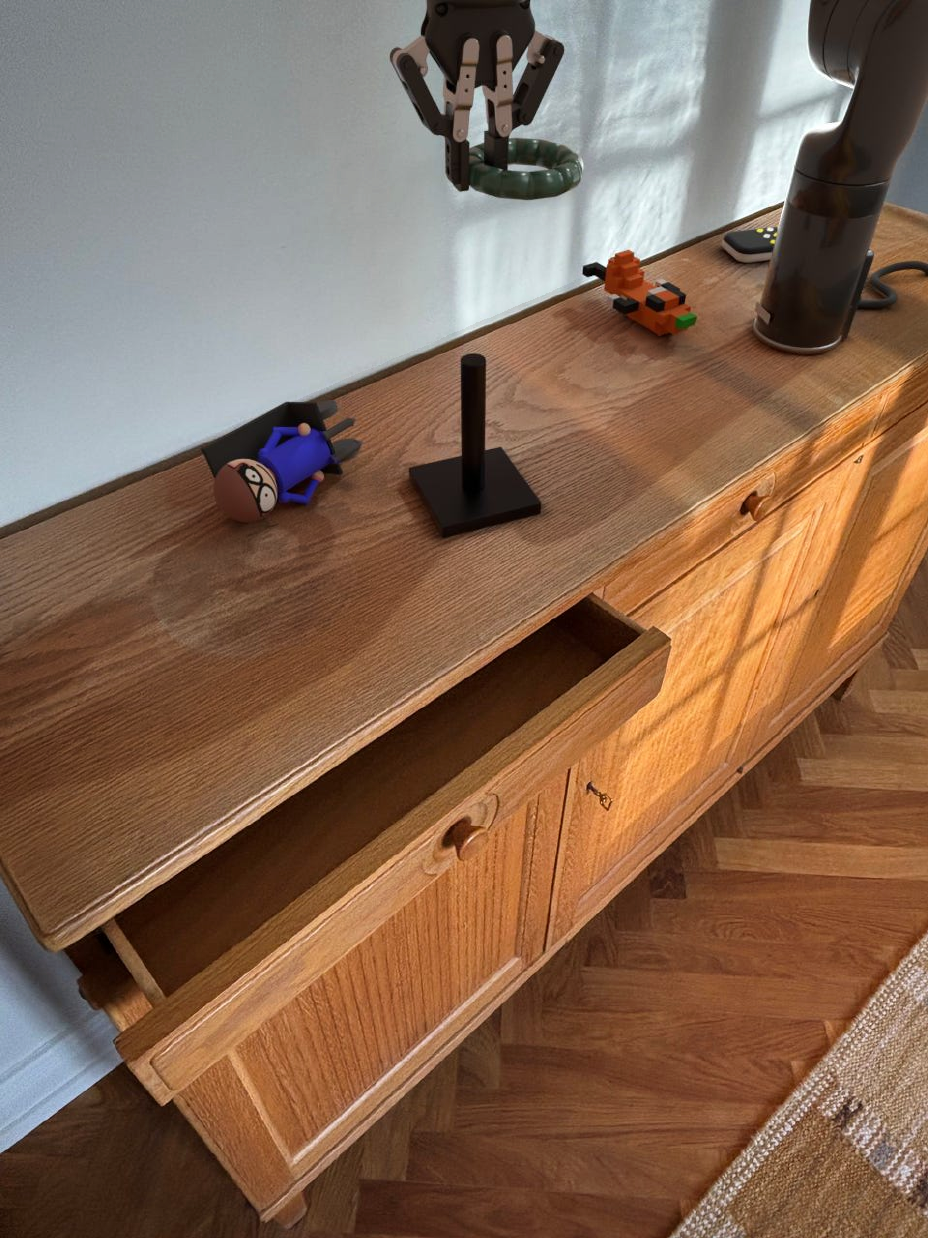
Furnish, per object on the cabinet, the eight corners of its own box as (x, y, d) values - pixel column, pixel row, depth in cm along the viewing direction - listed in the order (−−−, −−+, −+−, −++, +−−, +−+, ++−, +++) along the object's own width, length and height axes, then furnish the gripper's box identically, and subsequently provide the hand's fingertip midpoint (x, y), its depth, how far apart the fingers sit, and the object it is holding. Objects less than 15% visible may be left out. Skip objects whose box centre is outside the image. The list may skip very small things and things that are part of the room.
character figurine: (378, 474, 79) (248, 556, 72) (324, 439, 82) (194, 514, 75) (375, 401, 74) (233, 483, 66) (317, 367, 77) (175, 441, 69)
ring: (550, 154, 76) (552, 129, 75) (602, 194, 70) (605, 167, 68) (443, 167, 74) (443, 141, 72) (486, 209, 67) (487, 182, 66)
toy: (632, 234, 101) (722, 282, 92) (625, 284, 106) (712, 334, 97) (577, 250, 98) (665, 300, 89) (573, 301, 103) (657, 354, 94)
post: (500, 456, 81) (504, 323, 71) (540, 513, 75) (550, 375, 65) (409, 478, 78) (400, 343, 69) (442, 538, 73) (438, 399, 63)
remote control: (717, 245, 113) (720, 230, 112) (805, 235, 115) (809, 220, 114) (739, 265, 109) (742, 249, 108) (830, 254, 111) (834, 238, 110)
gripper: (397, -74, 54) (409, 213, 66) (597, -84, 57) (573, 191, 70) (365, -89, 59) (381, 181, 71) (550, -98, 62) (536, 161, 75)
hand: (476, 184), depth 71 cm, fingers closed on ring, 2 cm apart
